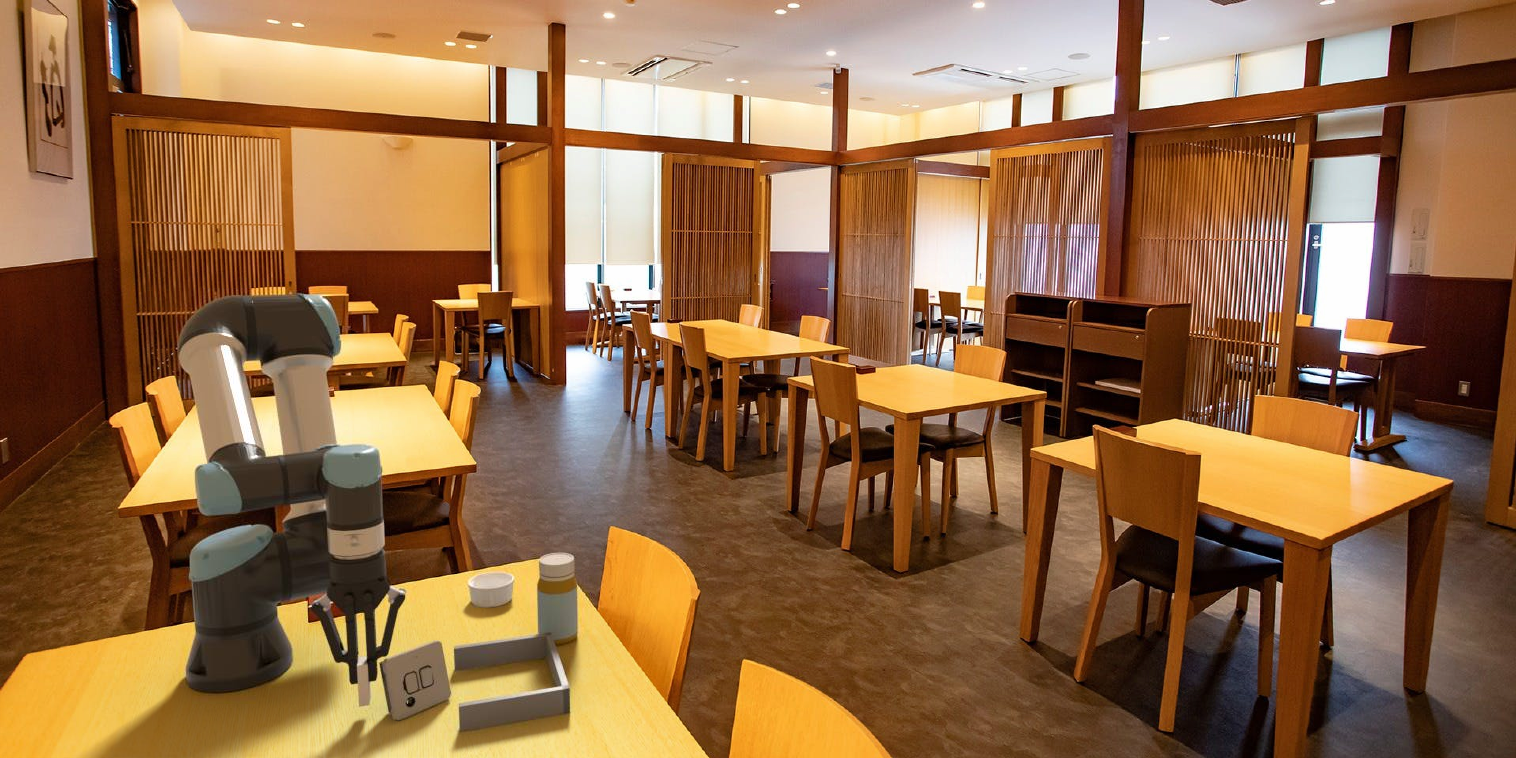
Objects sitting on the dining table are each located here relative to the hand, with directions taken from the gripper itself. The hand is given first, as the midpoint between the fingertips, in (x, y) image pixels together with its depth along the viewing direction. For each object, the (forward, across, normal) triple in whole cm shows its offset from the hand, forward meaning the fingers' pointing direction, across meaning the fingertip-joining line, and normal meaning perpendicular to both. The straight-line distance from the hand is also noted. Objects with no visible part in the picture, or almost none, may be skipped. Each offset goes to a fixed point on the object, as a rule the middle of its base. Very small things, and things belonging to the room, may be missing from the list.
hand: (365, 701), depth 129 cm
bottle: (+2, +31, +17) cm, 35 cm away
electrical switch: (+2, +7, +1) cm, 7 cm away
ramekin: (+2, +20, +38) cm, 43 cm away
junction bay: (+2, +21, +1) cm, 21 cm away
